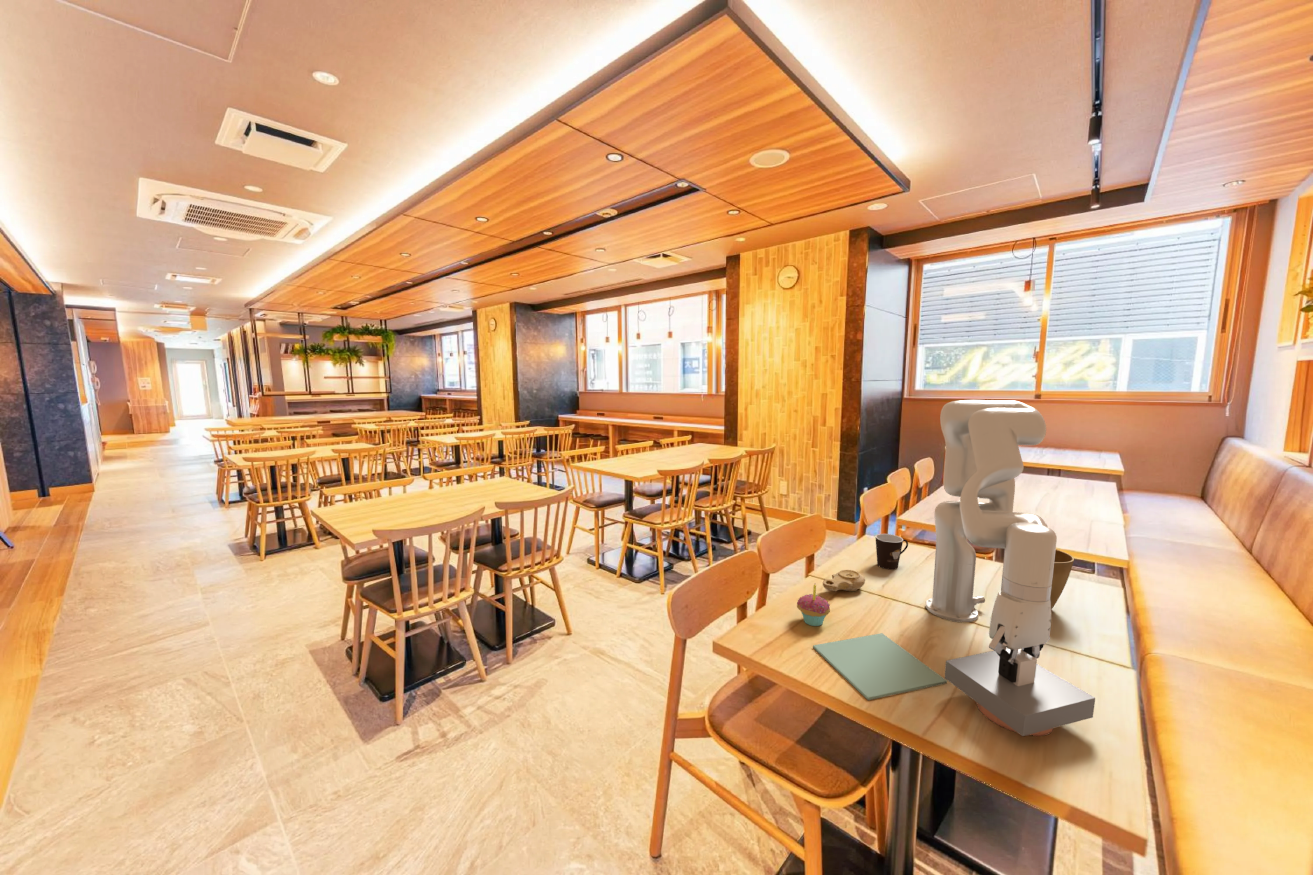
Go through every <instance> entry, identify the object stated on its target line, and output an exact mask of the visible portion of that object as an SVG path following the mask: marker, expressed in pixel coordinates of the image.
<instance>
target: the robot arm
mask: <svg viewBox="0 0 1313 875" xmlns="http://www.w3.org/2000/svg"><path fill="white" fill-rule="evenodd" d="M939 416H940V417H939V418H940V419H939V420H940V427H941V432H942V435H943V438H944V442H945V453H944V454H945V456H944V467H943V488H944V491H945V493H947V494H948V495H949V496H952V497H957V498H959V500H946V501H943V502H940V503H938V504H937V505H936V506H935V509H934V512H933V513H934V518H933V519H934V526H935V554H934V555H935V558H934V569H933V570H934V571H933V573H934V574H933V585H932V597H930V598H928V599H926V601H925V608H926V609H927V611H929V612H930V613H931V614H933V615H935V616H937V617H939V618H941V619H944V620H946V621H952V622H957V623H972V622H974V621H977V619H978V618H979V611H978V610H977V609H976V607H975V606H977V604H983V603H985V602H986V598H985V597H984V596H982V595H977V596H974V589H975V588H974V586H975V574H976V563H977V553H976V550H975V548H974V547H973V546H972V545H974V546H976V547H981V548H993V549H1004V555H1003V564H1002V575H1001V585H1000V591H999V592H998V593H997V594H996V595H997V596H996V598H995V601H994V604H993V609H992V612H991V617H990V623H989V632H988V634H989V635H988V636H989V638H990V639H991V641H990V643H989V645H988V648H989V649H990V650H991V651H995V652H996V653H997V655H998V656H999V657H1000V660H999V670H998V673H999V674H1000V675H1001V676H1003V677H1004V678H1006V679H1007V680H1009V681H1010V682H1012V683H1014V682H1016V675H1017V666H1018V664H1017V663H1015V661H1016V657H1017V653H1018V649H1020V650H1022V651H1024V652H1026V653H1027V654H1029V655H1031V656H1033V657H1034V658H1036V659H1037V661H1038V659H1039V658H1040V656H1041V654H1040V652H1041V650H1042V649H1043V648H1044V646H1045V645H1046V644H1047V642H1049V641H1050V639H1051V636H1050V634H1051V627H1052V626H1051V625H1052V610H1051V601H1050V595H1051V587H1052V578H1053V569H1054V560H1055V551H1056V549H1057V540H1058V539H1057V533H1055V530H1053V529H1052V528H1050V527H1049V526H1048V525H1047V523H1046V521H1045V520H1044V519H1043V518H1042V517H1041V516H1039V515H1037V514H1036V513H1035V514H1034V513H1031V512H1029V513H1028V512H1018V511H1017V512H1013V511H1014V503H1015V495H1016V494H1015V493H1016V480H1015V478H1017V477H1019V476H1020V475H1021V474H1022V473H1023V471H1024V468H1025V467H1024V462H1023V459H1022V454H1021V451H1020V446H1037V445H1039V444H1041V443H1042V442H1043V441H1044V439H1045V437H1046V433H1047V425H1046V421H1045V418H1044V416H1043V415H1042V414H1041V412H1040V411H1039V410H1038V409H1037V408H1036V407H1033V406H1030V405H1029V404H1026V403H1024V402H1021V401H1018V400H998V399H997V400H994V399H991V400H988V399H987V400H985V399H964V400H952V401H950V402H947V403H945V404H944V405H943V406H942V408H941V410H940V415H939ZM978 499H983V500H984V499H985V500H989V502H983V501H982V502H980V501H979V500H978ZM1006 648H1009V649H1010V650H1011V651H1010V654H1009V653H1008V652H1007V651H1006ZM1037 661H1036V664H1037ZM1035 672H1036V670H1035Z"/></svg>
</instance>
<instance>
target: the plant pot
mask: <svg viewBox="0 0 1313 875" xmlns="http://www.w3.org/2000/svg"><path fill="white" fill-rule="evenodd" d="M1074 561H1075V558H1074V556H1072V555H1071V554H1069V553H1067V552H1065V551H1062V550H1059V549H1057V548H1056V551H1055V560H1054V569H1053V578H1052V587H1051V595H1050V601H1051V611H1052V610H1053V609H1054V606H1056V604H1057V602H1058V600H1059V598H1060V597H1061V595H1062V593H1063V592H1064V589H1065V587H1066V585H1067V582H1068V580H1069V577H1070V575H1071V572H1072V569H1073V564H1074Z"/></svg>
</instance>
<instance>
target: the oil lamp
mask: <svg viewBox="0 0 1313 875" xmlns="http://www.w3.org/2000/svg"><path fill="white" fill-rule="evenodd" d="M865 582H866V579H865V576H863V574H862V573H860V572H859V571H856V570H852V569H842V570H840V571H838V572H836V573H835V574H832V575H831V578H830V579H829V578H823V581H822V586H823V588H824V589H825V590H827V591H831V592H837V591H839V590H841V591H842V590H843V591H847V592H856V591H857V590H858V589H861V588H862V587H863V586H864V585H865Z"/></svg>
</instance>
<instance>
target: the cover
mask: <svg viewBox="0 0 1313 875" xmlns="http://www.w3.org/2000/svg"><path fill="white" fill-rule="evenodd" d="M1006 651H1007V652H1008V653H1009V654H1010V651H1011V650H1010V649H1009V648H1007V647H1006ZM999 660H1000V657H999V656H998V655H997V653H996V652H995V651H994V650H990V651H985V652H981V653H976V654H971V655H967V656H963V657H957V658H952V659H947V660H945V668H944V679H945V680H947V682H949V683H950V684H952V685H953V686H954V687H956V688H957V689H958V690H960V692H962V693H964V694H965V695H966V696H968V697H969V698H971V700H973V701H975V703H976V702H977V703H979V704H980V705H981V706H983V707H984V708H985V709H987V710H988V711H989V712H991V713H992V714H993V715H995V716H996V717H997V718H999V719H1000V720H1002V721H1003V722H1004V723H1006V724H1007V725H1008V726H1010V727H1011V728H1012V729H1014V730H1015V731H1016V732H1018V733H1017V734H1019V735H1020V736H1022V737H1026V736H1029V735H1030V734H1033V733H1037V732H1041V731H1044V730H1048V729H1052V728H1053V729H1055V728H1059V727H1061V726H1066V725H1069V724H1073V723H1077V722H1082V721H1084V720H1085V721H1086V720H1089V719H1092V718H1094V710H1095V705H1096V704H1095V702H1096V697H1095V696H1093V695H1092V694H1090V693H1088V692H1087V691H1085V690H1083V689H1081V688H1079V687H1078V686H1076V685H1074V684H1073V683H1071V682H1069V681H1068V680H1066V679H1064V678H1062V677H1060V676H1059V675H1057V674H1055V673H1054V672H1051V671H1050V670H1049V669H1046V668H1045V667H1044V666H1041V665H1039V663H1038V664H1037V663H1036V661H1038V659H1036V658H1034V657H1033V656H1031V655H1029V654H1027V653H1026V652H1024V651H1022V649H1018V653H1017V657H1016V661H1015V663H1017V664H1018V666H1017V675H1016V682H1014V683H1012V682H1010V681H1009V680H1007V679H1006V678H1004V677H1003V676H1001V675H1000V674H999V673H998V670H999ZM1035 670H1036V672H1035ZM1016 732H1015V733H1016Z"/></svg>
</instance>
